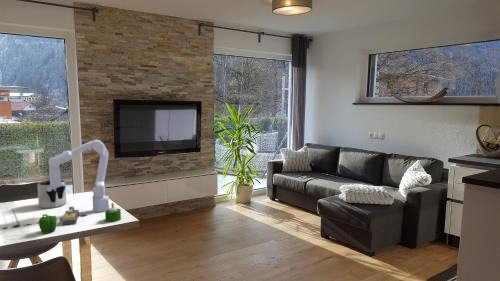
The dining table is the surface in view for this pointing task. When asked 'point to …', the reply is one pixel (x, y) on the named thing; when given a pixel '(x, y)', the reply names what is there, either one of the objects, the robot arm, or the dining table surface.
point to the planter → (44, 198)
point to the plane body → (69, 222)
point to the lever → (71, 210)
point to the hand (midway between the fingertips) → (56, 200)
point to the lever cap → (69, 216)
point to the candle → (113, 214)
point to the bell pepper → (47, 223)
